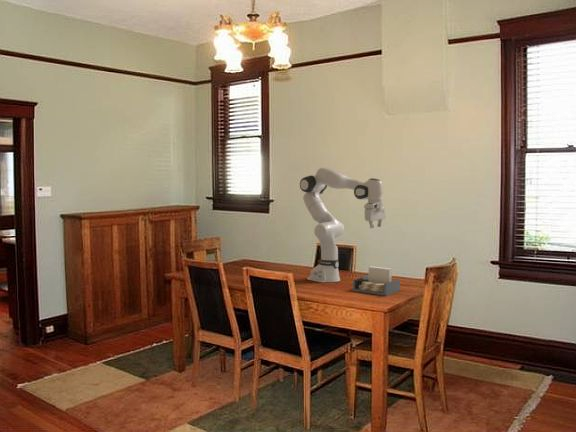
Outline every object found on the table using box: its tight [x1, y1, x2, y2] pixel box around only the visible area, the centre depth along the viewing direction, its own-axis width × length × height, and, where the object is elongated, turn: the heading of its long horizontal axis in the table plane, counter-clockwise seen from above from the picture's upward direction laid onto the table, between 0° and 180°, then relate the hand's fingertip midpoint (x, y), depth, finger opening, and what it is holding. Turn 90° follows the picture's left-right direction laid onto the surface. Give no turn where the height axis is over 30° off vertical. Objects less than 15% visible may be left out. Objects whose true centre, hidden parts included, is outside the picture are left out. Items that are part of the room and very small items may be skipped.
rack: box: [352, 274, 401, 297], centre depth 324 cm, size 22×18×7 cm
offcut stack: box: [359, 281, 384, 292], centre depth 321 cm, size 16×6×4 cm, turn 52°
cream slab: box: [367, 265, 392, 284], centre depth 327 cm, size 14×3×12 cm, turn 52°
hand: (375, 227), depth 331 cm, fingers open, 8 cm apart
